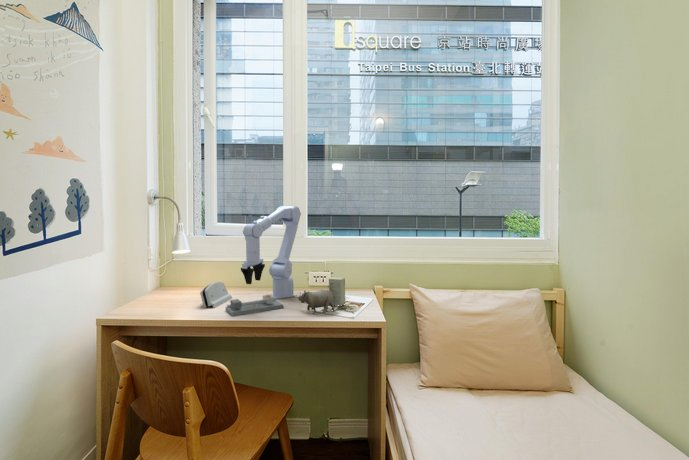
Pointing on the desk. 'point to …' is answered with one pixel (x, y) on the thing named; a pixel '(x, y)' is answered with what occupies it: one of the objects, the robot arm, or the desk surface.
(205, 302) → the grey upright panel
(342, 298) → the skincare box
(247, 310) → the hole board
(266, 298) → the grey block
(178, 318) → the desk surface
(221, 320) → the desk surface
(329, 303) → the grey four-legged figurine
